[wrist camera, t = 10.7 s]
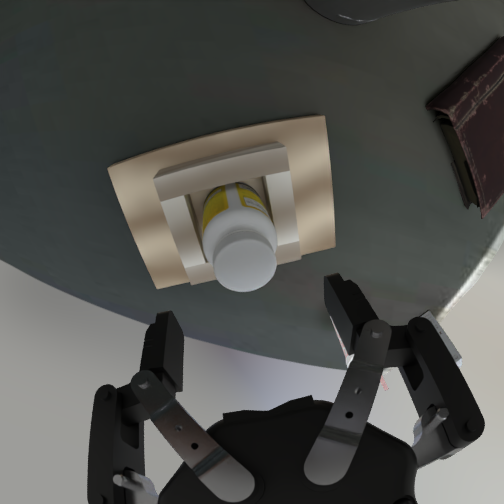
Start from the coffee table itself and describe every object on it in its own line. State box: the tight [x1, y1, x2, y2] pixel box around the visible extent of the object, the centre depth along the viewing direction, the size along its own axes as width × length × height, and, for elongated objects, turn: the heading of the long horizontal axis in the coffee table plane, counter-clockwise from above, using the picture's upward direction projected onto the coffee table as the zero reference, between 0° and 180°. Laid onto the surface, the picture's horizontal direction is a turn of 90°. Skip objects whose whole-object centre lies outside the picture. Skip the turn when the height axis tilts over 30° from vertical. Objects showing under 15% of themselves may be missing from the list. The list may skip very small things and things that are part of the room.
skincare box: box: [421, 311, 462, 368], centre depth 38 cm, size 6×4×12 cm
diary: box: [426, 36, 504, 219], centre depth 22 cm, size 19×25×5 cm
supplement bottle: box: [202, 181, 277, 292], centre depth 21 cm, size 5×5×10 cm
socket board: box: [107, 115, 335, 289], centre depth 25 cm, size 14×20×4 cm
